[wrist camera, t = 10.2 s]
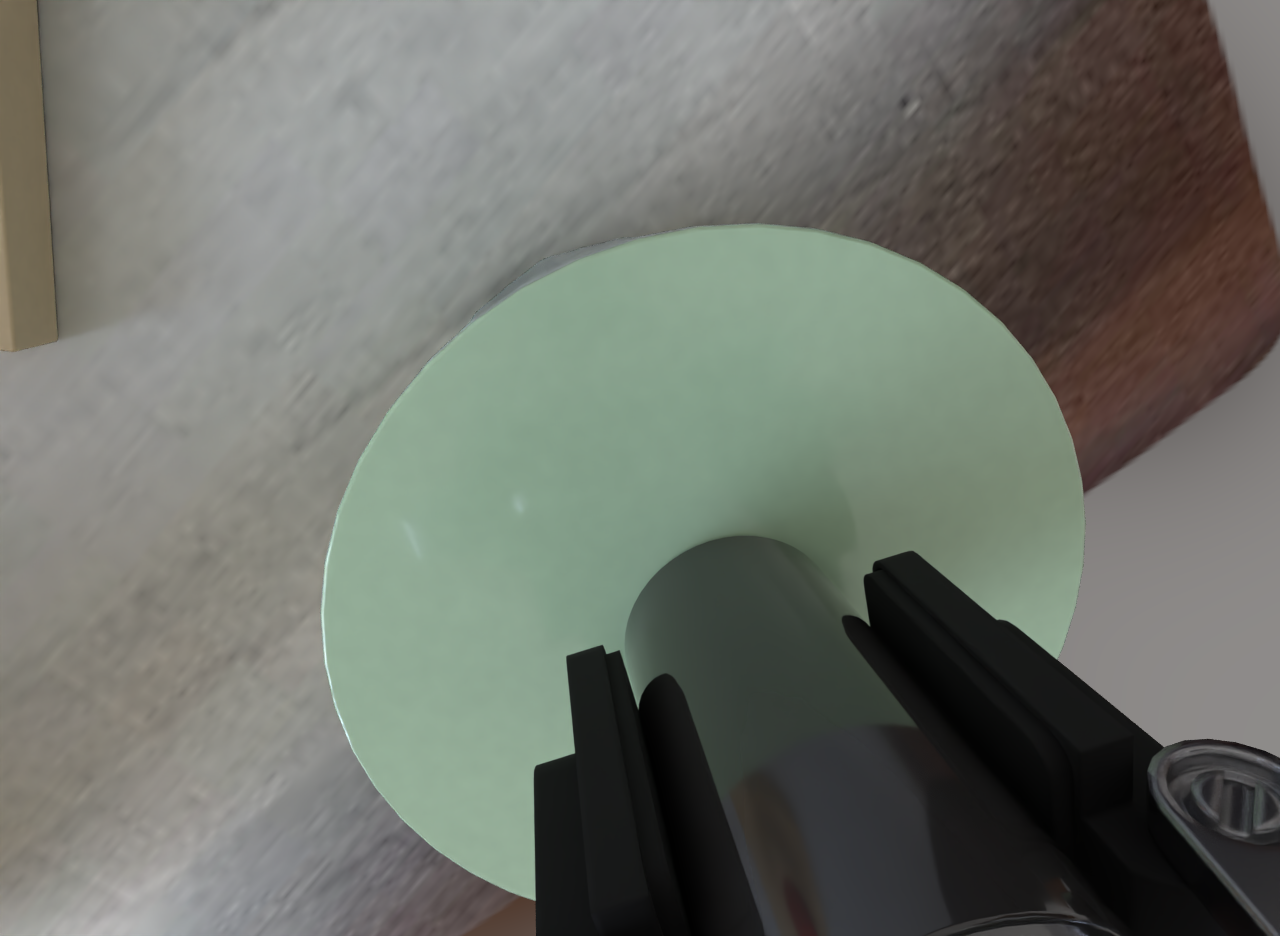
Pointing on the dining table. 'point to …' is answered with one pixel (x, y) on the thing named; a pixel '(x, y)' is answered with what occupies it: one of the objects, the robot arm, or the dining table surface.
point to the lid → (716, 576)
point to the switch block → (23, 186)
